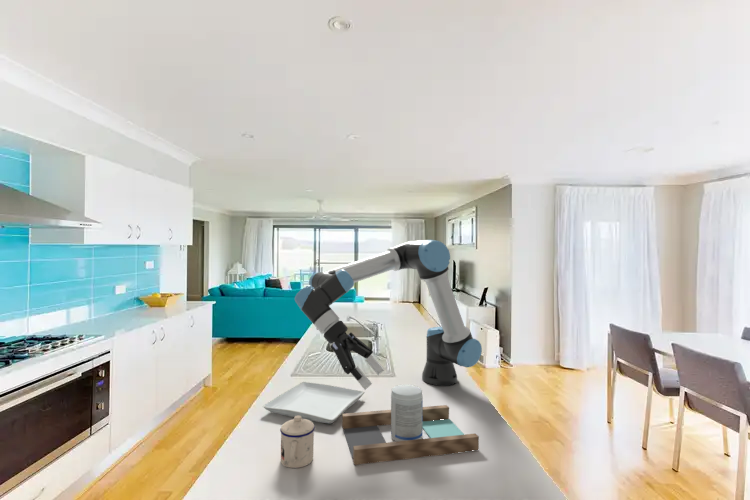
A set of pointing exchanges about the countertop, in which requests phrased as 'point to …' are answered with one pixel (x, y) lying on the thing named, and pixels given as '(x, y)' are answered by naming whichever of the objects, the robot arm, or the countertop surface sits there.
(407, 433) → the supplement tub
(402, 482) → the countertop surface
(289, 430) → the teacup with lid
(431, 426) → the pad
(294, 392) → the square plate
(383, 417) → the channel rails
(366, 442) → the trap mat
